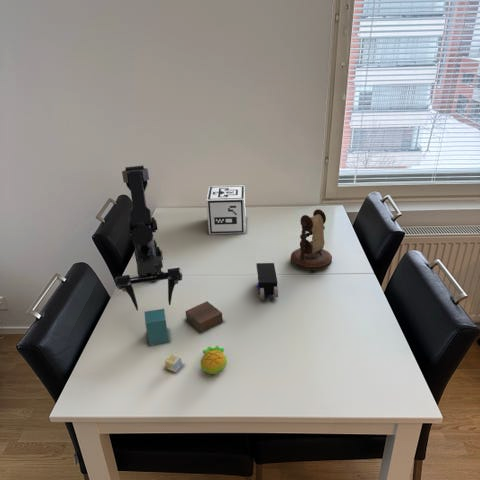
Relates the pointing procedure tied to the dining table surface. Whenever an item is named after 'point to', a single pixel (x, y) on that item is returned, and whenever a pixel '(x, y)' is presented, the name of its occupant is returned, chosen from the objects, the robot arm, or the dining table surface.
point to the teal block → (156, 326)
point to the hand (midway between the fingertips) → (153, 307)
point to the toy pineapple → (213, 360)
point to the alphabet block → (173, 363)
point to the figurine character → (267, 280)
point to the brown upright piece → (312, 244)
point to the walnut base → (204, 316)
